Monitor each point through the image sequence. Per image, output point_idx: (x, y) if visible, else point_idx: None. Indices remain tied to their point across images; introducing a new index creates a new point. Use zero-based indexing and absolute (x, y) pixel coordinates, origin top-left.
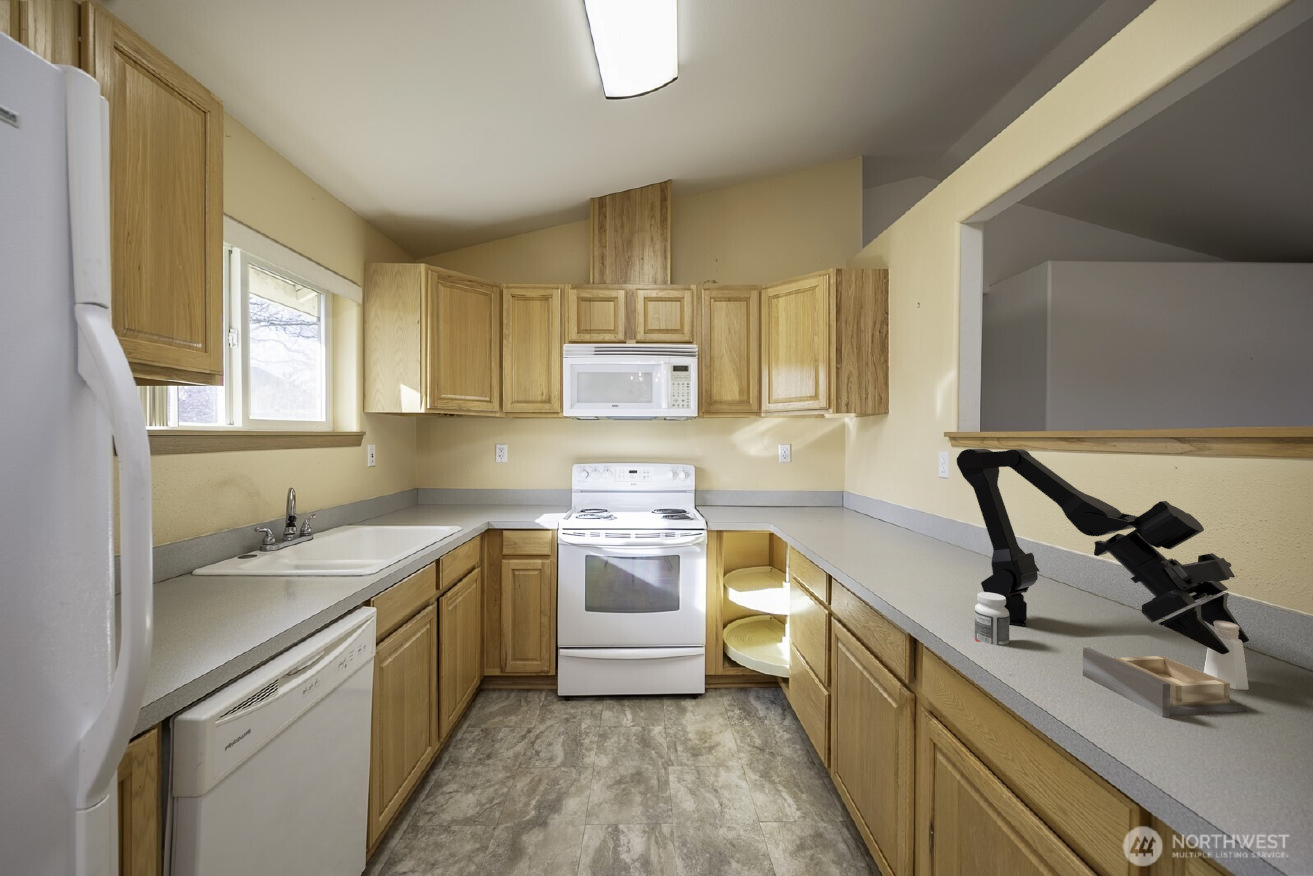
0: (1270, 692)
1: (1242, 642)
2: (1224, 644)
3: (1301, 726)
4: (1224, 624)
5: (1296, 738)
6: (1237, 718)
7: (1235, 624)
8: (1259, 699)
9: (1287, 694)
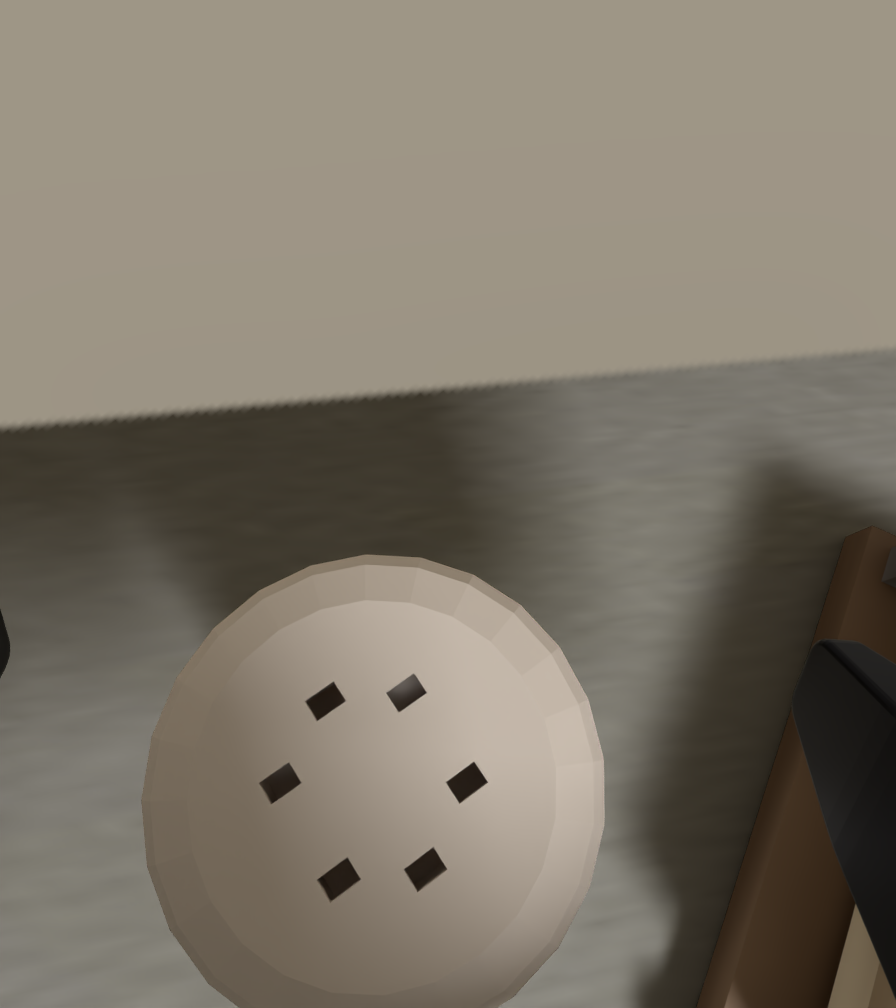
0: (183, 546)
1: (3, 652)
2: (883, 687)
3: (651, 376)
4: (557, 784)
5: (858, 373)
6: None
7: (324, 620)
8: None
9: (127, 479)
